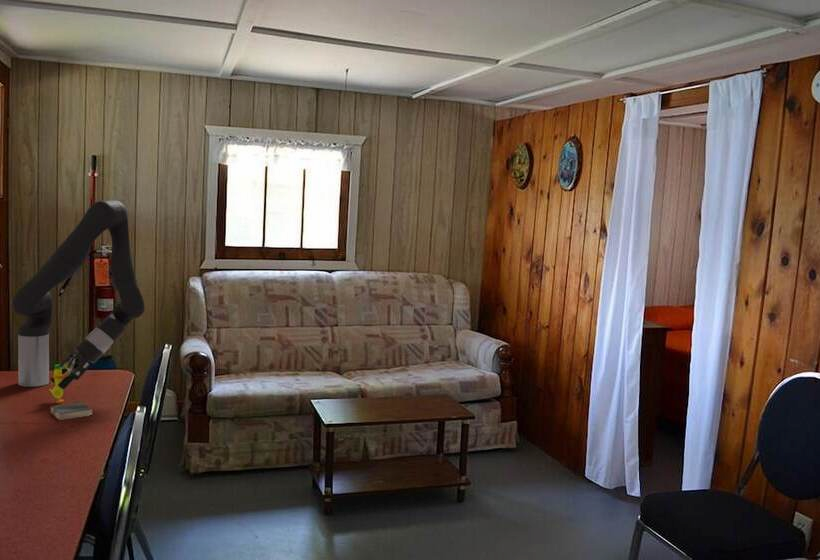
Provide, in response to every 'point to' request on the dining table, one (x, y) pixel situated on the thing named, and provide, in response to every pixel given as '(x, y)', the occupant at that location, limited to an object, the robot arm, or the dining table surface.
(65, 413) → the stand
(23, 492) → the dining table surface
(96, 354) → the robot arm
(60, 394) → the toy figure
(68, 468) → the dining table surface
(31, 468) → the dining table surface
